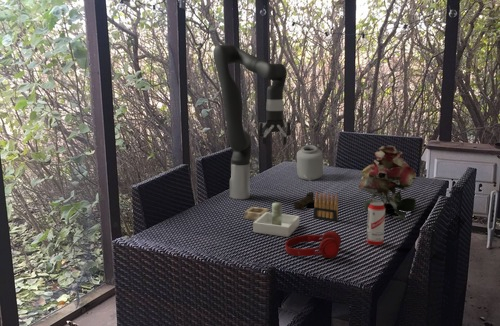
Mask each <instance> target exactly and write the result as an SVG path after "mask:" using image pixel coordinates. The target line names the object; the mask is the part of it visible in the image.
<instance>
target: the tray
mask: <svg viewBox="0 0 500 326" xmlns="http://www.w3.org/2000/svg"><path fill="white" fill-rule="evenodd" d="M300 219H301V218H300V215H293V214H292V215H291V214H285V213H282V226H280V225H273V224H272V212H270V211H269V212H265V213H264V214H263V215H262V216H261V217H259V218H258V219H257V220H254V221H253V222H252V229H253V230H252V232H253V233H256V234H264V235H272V236H279V237H286V238H289V237H290V236H292V234H293V233H294V232H295V231H296V230H297V228H299V226H300Z"/></svg>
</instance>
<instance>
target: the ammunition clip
mask: <svg viewBox="0 0 500 326" xmlns="http://www.w3.org/2000/svg"><path fill="white" fill-rule="evenodd" d="M313 219H315V220H316V219H317V220H321V221H328V222H335V223H336V222H339V200H338V194H335V197H334V194H333V193H331V195H330V193H327V195H326V192H324V193H323V195H322V192H321V191H320V193H319V194H318V191H316V192H315V197H314V208H313Z"/></svg>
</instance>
